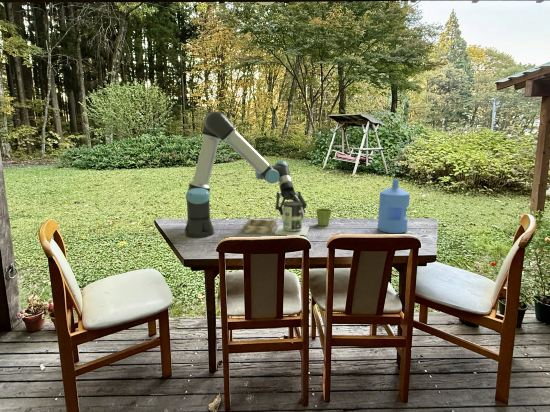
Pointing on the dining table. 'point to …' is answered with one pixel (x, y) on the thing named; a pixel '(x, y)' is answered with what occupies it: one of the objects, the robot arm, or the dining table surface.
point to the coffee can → (292, 216)
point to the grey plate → (285, 232)
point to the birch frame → (259, 226)
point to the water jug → (393, 209)
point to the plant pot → (323, 216)
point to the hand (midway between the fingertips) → (294, 219)
